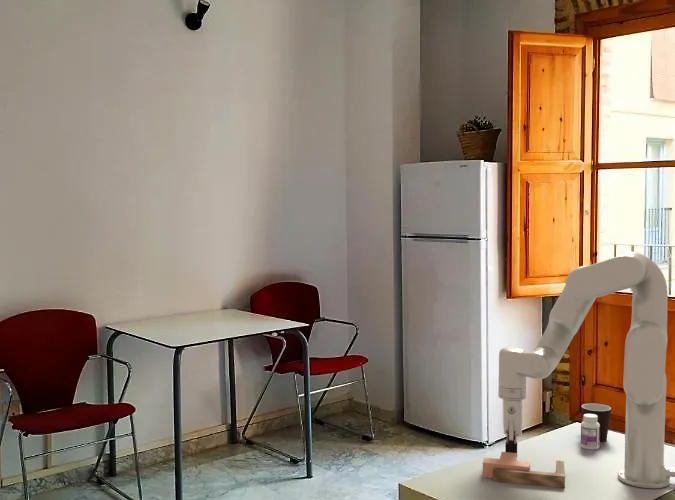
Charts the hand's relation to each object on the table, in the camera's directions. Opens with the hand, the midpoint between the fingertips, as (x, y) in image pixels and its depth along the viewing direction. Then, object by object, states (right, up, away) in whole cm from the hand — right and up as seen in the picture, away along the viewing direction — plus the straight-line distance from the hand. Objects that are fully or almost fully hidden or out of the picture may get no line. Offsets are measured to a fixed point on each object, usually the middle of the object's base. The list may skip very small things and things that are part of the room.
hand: (511, 456), depth 216 cm
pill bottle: (+26, -1, +12) cm, 29 cm away
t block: (-3, -2, -9) cm, 10 cm away
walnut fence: (+2, -2, -11) cm, 12 cm away
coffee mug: (+31, 0, +21) cm, 38 cm away
